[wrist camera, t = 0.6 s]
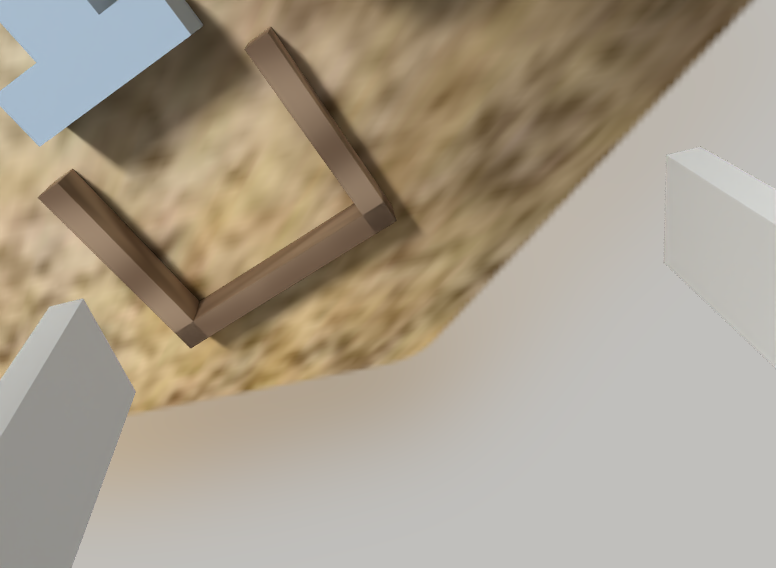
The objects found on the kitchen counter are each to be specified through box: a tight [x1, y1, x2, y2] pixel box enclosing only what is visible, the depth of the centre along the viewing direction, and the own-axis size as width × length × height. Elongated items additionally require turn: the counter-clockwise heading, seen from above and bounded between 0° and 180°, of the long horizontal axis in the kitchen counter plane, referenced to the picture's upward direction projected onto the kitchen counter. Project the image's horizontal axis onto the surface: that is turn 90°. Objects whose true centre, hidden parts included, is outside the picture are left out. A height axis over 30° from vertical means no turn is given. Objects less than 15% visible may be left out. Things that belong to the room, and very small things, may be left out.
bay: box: [38, 27, 396, 348], centre depth 37 cm, size 13×16×2 cm
